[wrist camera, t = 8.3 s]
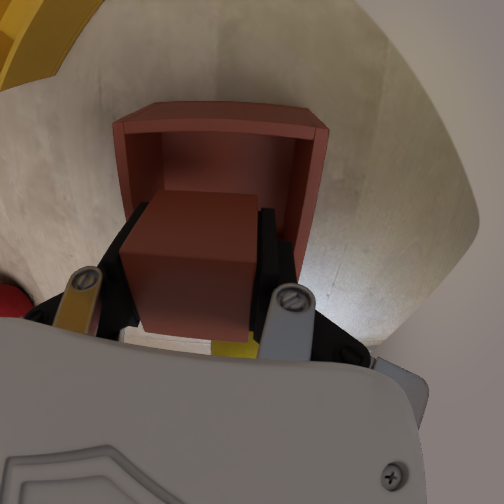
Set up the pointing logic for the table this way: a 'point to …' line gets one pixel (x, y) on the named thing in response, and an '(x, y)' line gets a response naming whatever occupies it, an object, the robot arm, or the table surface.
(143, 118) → the clay bin
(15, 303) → the apple
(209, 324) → the clay block
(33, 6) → the yellow bin
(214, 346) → the lemon
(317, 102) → the table surface
